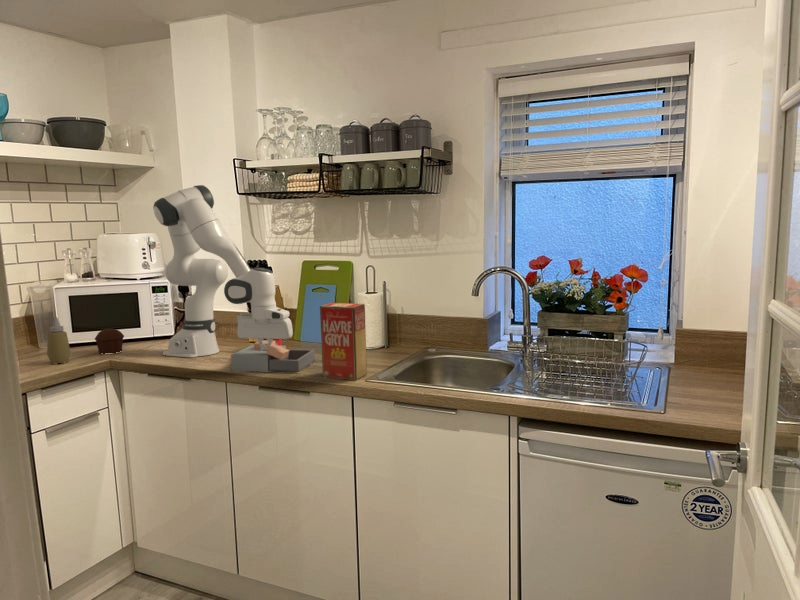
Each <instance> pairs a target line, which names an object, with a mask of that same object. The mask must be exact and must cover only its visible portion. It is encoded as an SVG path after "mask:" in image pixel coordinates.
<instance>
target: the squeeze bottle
mask: <svg viewBox="0 0 800 600" xmlns="http://www.w3.org/2000/svg"><path fill="white" fill-rule="evenodd" d="M64 329H65V328H64V326H63V325H61V324H60V321H59V318H58V317H57V316H55V317H54V318H53V323H52V326H50V327H49V333H48V334H47V345H46V346H47V351H46V352H47V353H46V355H47V357H48V359H49V361H50V362H49V363H51V364H52V363H54V364H53V365H56V364H55V363H63V364H65V363H64V362H66V363H68V362H69V360H70V356H71V353H72V352H71V349H70V342H69V339H68V334H67V331H65V330H64Z"/></svg>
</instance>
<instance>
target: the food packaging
mask: <svg viewBox="0 0 800 600" xmlns="http://www.w3.org/2000/svg"><path fill="white" fill-rule="evenodd" d="M319 312H320V314H319V316H320V333H321V335H320V337H321V364H322V368H321V369H322V378H323V377H326V378H325V379H334V378H335V379H336V380H345V379H346V380H349V381H358V380H360V379H361V378H363V377H366V375H368V371H367V368H368V367H367V363H368V362H367V340H366V339H367V338H366V336H367V335H366V334H367V333H366V332H367V331H366V305H365V303H347V302H346V303H344V302H343V303H342V302H330V303H326V304H323V305H320V306H319ZM335 379H334V380H335Z"/></svg>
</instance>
